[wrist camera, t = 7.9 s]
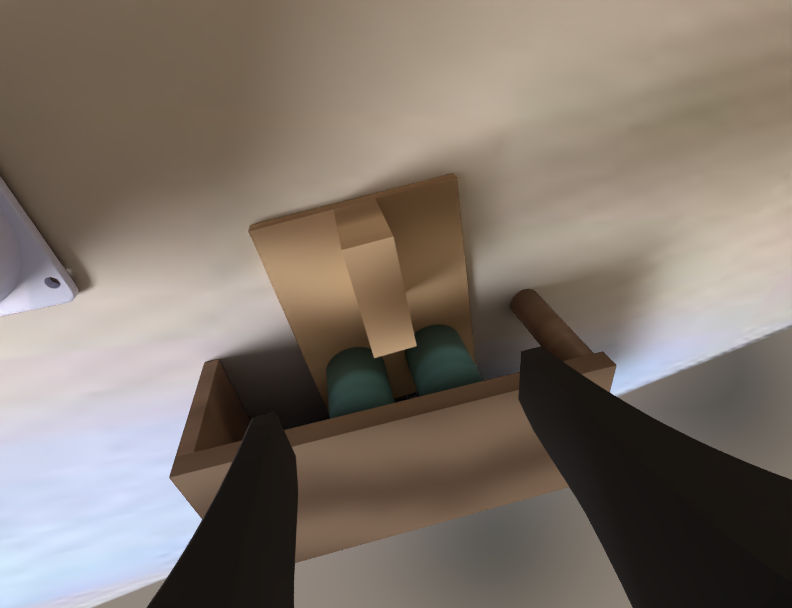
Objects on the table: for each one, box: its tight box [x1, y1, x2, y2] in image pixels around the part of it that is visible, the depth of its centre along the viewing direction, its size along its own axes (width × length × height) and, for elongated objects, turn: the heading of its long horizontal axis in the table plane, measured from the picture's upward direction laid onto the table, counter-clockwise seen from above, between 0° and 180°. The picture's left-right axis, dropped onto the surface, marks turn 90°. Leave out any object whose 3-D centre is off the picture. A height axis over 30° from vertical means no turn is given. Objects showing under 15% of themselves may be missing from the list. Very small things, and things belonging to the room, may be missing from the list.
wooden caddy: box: [169, 289, 616, 563], centre depth 21 cm, size 8×18×6 cm, turn 98°
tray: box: [249, 174, 484, 419], centre depth 19 cm, size 12×9×5 cm
